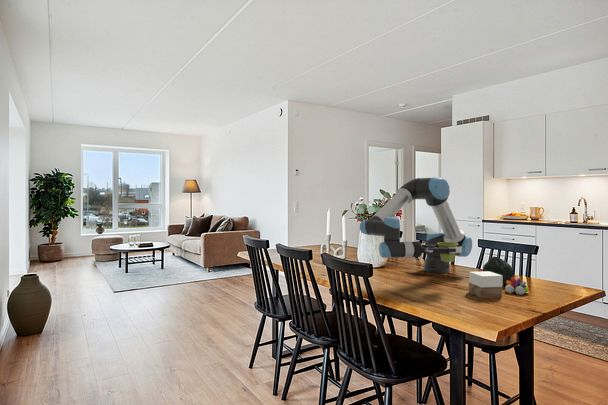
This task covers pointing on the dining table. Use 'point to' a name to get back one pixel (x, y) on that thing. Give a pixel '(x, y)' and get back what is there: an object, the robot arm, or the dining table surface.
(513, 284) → the rainbow petal cluster
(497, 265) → the squash
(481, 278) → the pale top block
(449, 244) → the plant pot
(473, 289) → the walnut base block
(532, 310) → the dining table surface
